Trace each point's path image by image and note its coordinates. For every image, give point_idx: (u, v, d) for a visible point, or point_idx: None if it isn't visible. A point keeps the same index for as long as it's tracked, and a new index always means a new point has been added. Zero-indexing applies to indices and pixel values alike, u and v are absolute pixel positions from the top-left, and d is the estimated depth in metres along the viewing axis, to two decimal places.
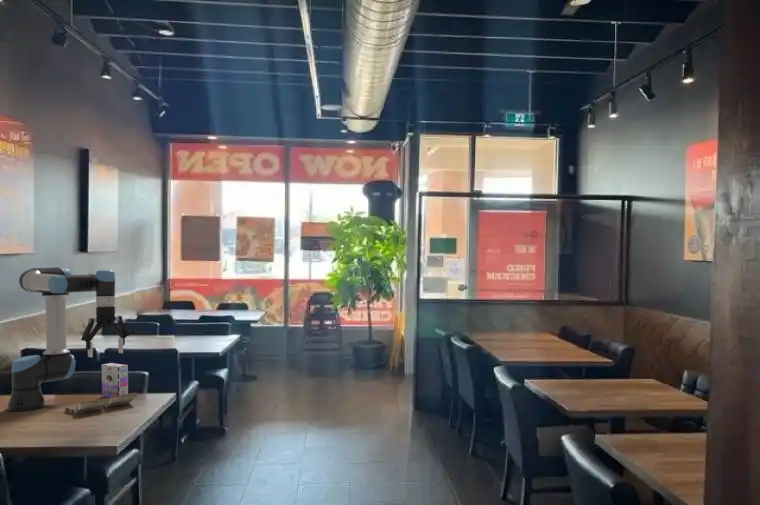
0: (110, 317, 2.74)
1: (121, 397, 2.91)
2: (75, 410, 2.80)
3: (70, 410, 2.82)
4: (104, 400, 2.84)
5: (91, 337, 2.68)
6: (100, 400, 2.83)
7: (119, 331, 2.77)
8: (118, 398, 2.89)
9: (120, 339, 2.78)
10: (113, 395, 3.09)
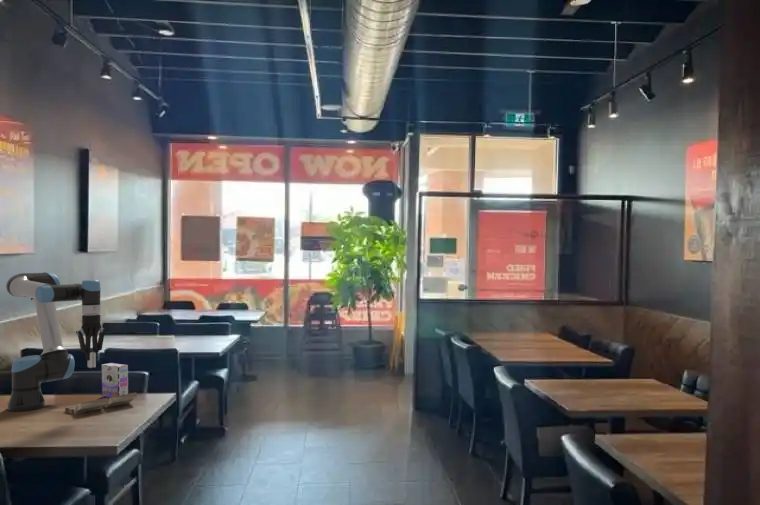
0: (97, 323, 2.84)
1: (121, 397, 2.91)
2: (75, 410, 2.80)
3: (70, 410, 2.82)
4: (104, 400, 2.84)
5: (88, 348, 2.81)
6: (100, 400, 2.83)
7: (96, 343, 2.84)
8: (118, 398, 2.89)
9: (93, 353, 2.83)
10: (113, 395, 3.09)
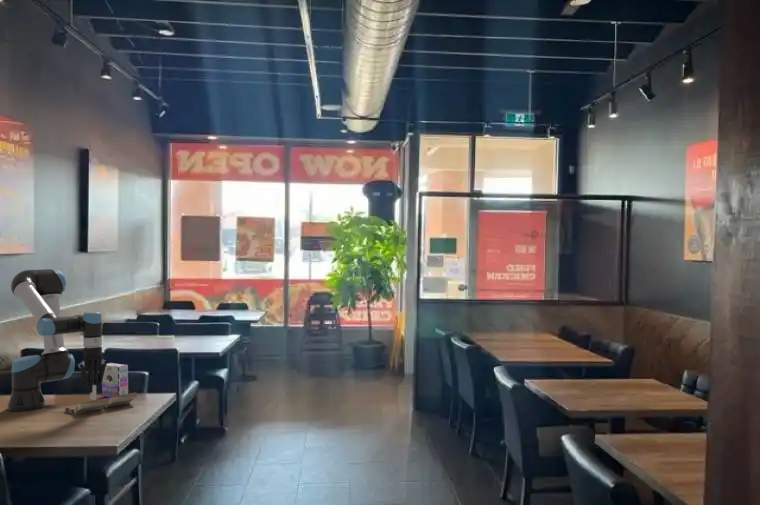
0: (99, 355, 2.83)
1: (121, 397, 2.91)
2: (75, 410, 2.80)
3: (70, 410, 2.82)
4: (104, 400, 2.84)
5: (91, 380, 2.80)
6: (100, 400, 2.83)
7: (97, 376, 2.82)
8: (118, 398, 2.89)
9: None
10: (113, 395, 3.09)
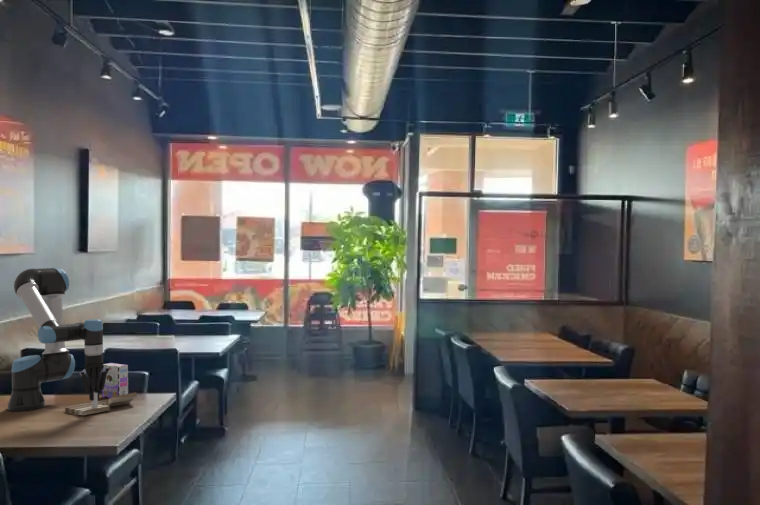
0: (100, 363, 2.83)
1: (121, 397, 2.91)
2: (76, 412, 2.80)
3: (70, 410, 2.82)
4: (106, 408, 2.83)
5: (92, 388, 2.80)
6: (102, 408, 2.82)
7: (98, 383, 2.82)
8: (118, 398, 2.89)
9: None
10: (113, 395, 3.09)
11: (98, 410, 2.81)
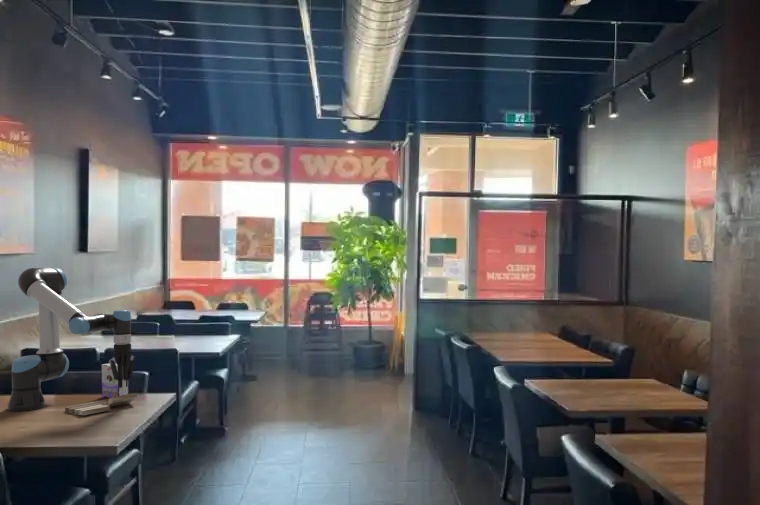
0: (128, 352, 2.94)
1: (121, 397, 2.91)
2: (76, 412, 2.80)
3: (70, 410, 2.82)
4: (106, 408, 2.83)
5: (121, 376, 2.91)
6: (102, 408, 2.82)
7: (126, 371, 2.93)
8: (118, 398, 2.89)
9: None
10: (113, 395, 3.09)
11: (98, 410, 2.81)
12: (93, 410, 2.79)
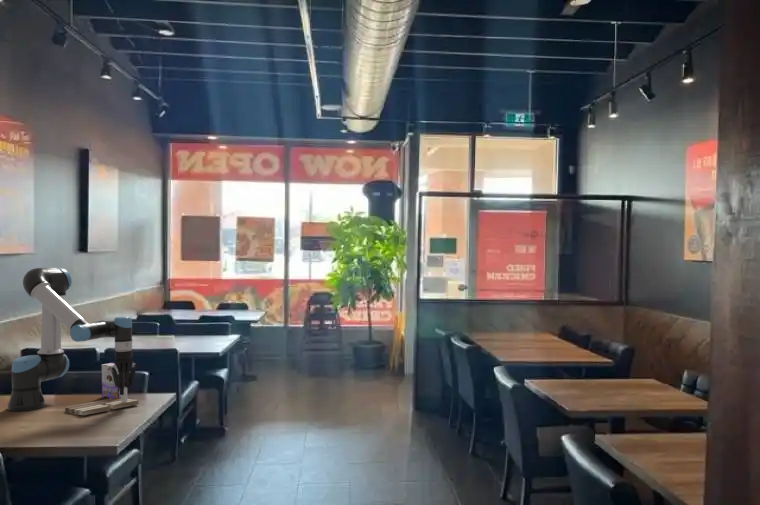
0: (129, 359, 2.94)
1: (123, 405, 2.90)
2: (76, 412, 2.80)
3: (70, 410, 2.82)
4: (106, 408, 2.83)
5: (122, 383, 2.91)
6: (102, 408, 2.82)
7: (128, 378, 2.93)
8: (120, 406, 2.89)
9: None
10: (113, 395, 3.09)
11: (98, 410, 2.81)
12: (93, 410, 2.79)
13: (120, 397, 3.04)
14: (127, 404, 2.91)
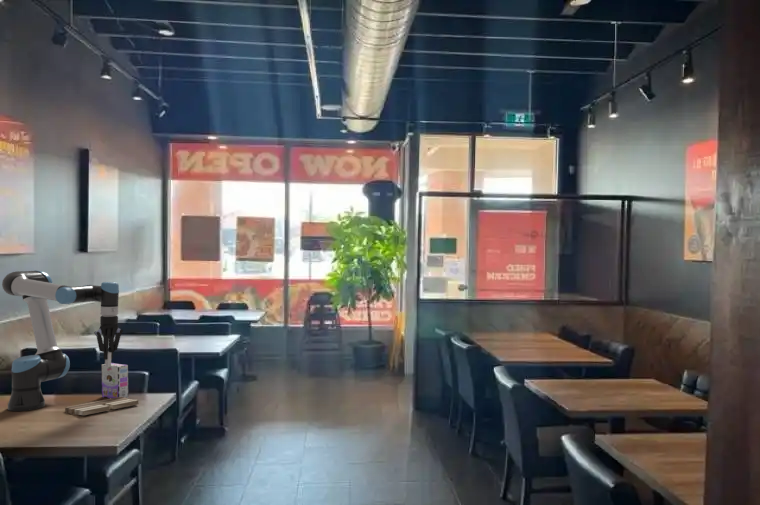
0: (115, 324, 2.94)
1: (123, 405, 2.90)
2: (76, 412, 2.80)
3: (70, 410, 2.82)
4: (106, 408, 2.83)
5: (106, 348, 2.91)
6: (102, 408, 2.82)
7: (112, 343, 2.93)
8: (120, 406, 2.89)
9: None
10: (113, 395, 3.09)
11: (98, 410, 2.81)
12: (93, 410, 2.79)
13: (120, 397, 3.04)
14: (127, 404, 2.91)
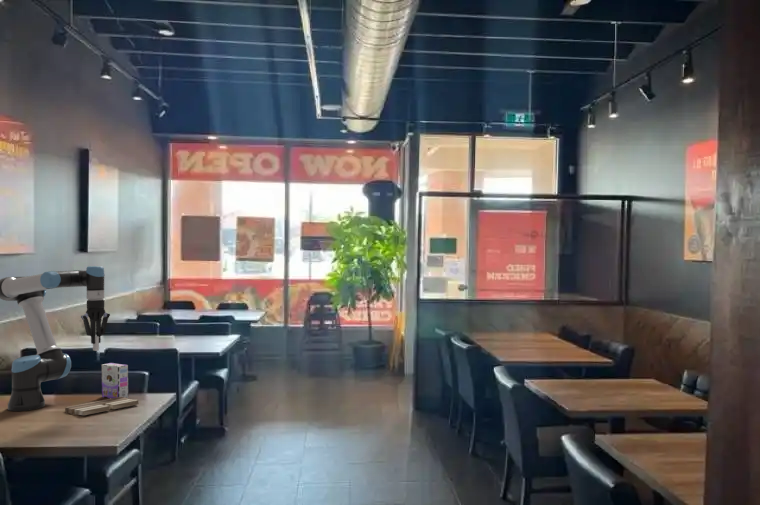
0: (101, 308, 2.94)
1: (123, 405, 2.90)
2: (76, 412, 2.80)
3: (70, 410, 2.82)
4: (106, 408, 2.83)
5: (94, 332, 2.91)
6: (102, 408, 2.82)
7: (99, 327, 2.93)
8: (120, 406, 2.89)
9: None
10: (113, 395, 3.09)
11: (98, 410, 2.81)
12: (93, 410, 2.79)
13: (120, 397, 3.04)
14: (127, 404, 2.91)
